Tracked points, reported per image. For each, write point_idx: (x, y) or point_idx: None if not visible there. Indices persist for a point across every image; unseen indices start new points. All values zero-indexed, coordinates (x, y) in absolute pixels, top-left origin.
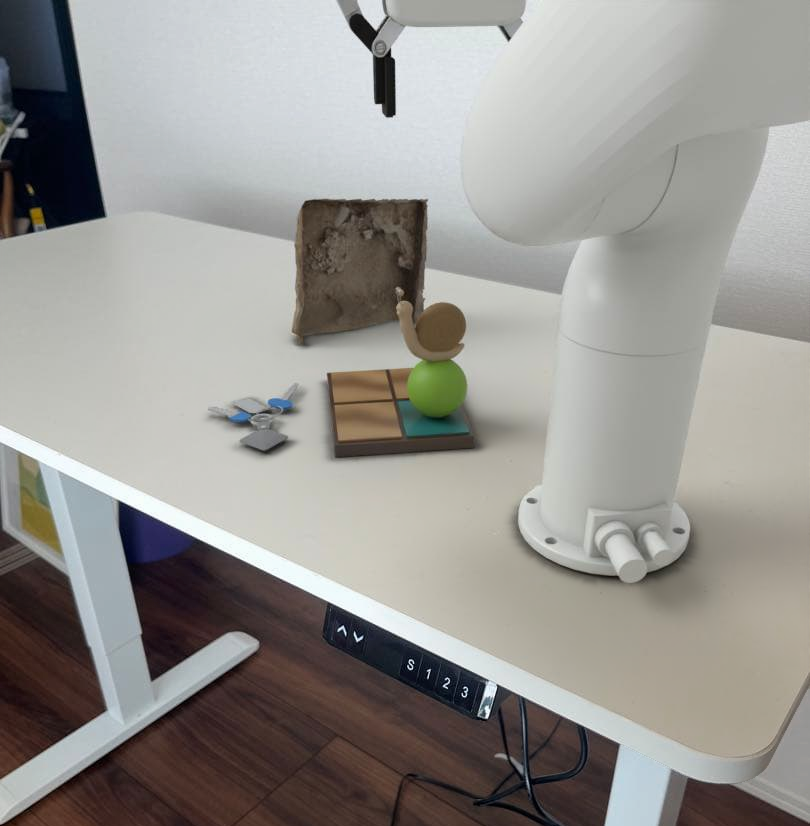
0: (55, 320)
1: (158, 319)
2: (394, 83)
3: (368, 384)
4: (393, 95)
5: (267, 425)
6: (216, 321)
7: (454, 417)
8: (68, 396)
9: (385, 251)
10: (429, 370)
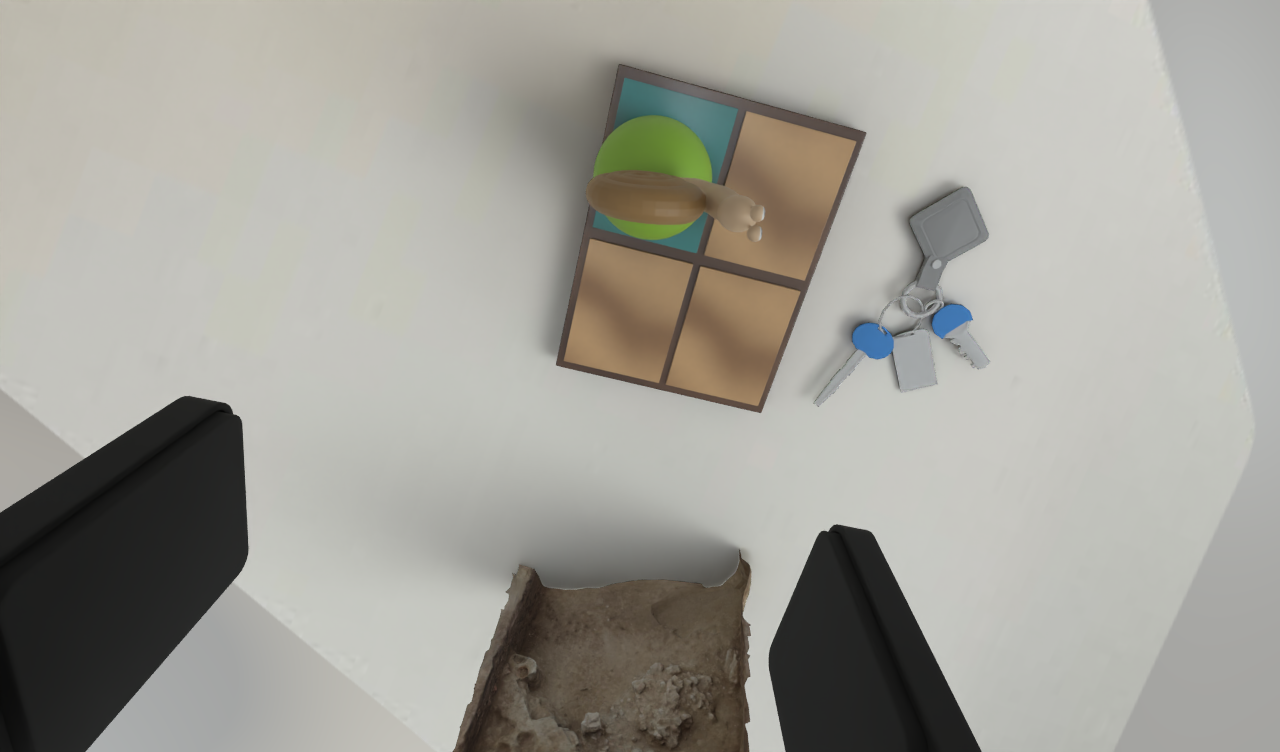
0: (1046, 748)
1: None
2: (872, 634)
3: (717, 337)
4: (857, 592)
5: (925, 270)
6: None
7: None
8: (1139, 502)
9: (553, 697)
10: (681, 160)
